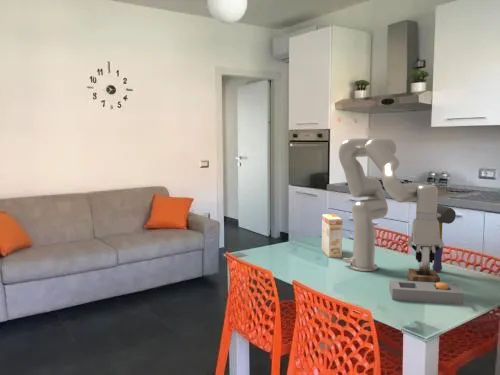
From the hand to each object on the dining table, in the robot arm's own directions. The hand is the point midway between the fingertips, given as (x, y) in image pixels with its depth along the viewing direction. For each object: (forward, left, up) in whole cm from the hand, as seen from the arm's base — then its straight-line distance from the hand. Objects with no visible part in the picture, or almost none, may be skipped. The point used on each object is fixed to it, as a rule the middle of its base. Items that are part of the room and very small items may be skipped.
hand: (424, 261), depth 172 cm
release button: (+4, -13, -10) cm, 17 cm away
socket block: (-2, -13, -11) cm, 17 cm away
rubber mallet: (+10, +23, -11) cm, 27 cm away
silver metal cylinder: (0, 0, -6) cm, 6 cm away
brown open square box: (0, 0, -11) cm, 11 cm away
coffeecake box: (-37, +45, -11) cm, 60 cm away
